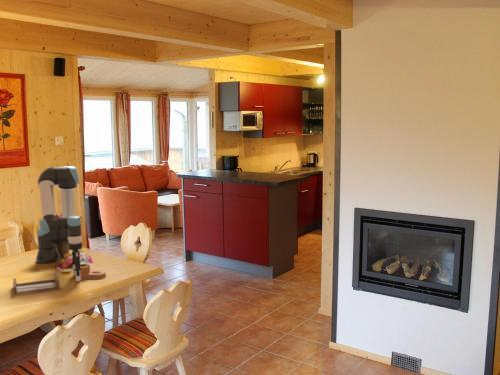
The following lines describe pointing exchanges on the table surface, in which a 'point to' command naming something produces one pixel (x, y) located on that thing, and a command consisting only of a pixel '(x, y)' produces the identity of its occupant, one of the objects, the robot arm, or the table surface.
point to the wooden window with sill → (36, 286)
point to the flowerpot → (62, 245)
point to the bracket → (90, 272)
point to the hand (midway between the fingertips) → (77, 278)
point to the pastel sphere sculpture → (67, 263)
